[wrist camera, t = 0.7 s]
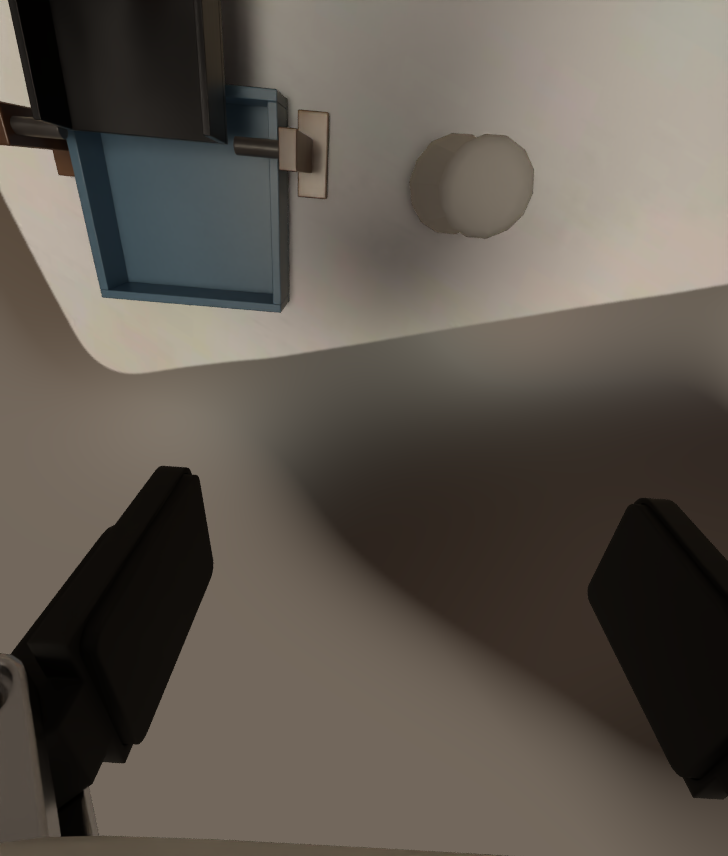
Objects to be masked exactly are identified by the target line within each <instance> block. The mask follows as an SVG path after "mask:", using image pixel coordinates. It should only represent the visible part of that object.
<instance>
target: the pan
mask: <svg viewBox="0 0 728 856" xmlns="http://www.w3.org/2000/svg"><path fill="white" fill-rule="evenodd" d="M8 2H9V7H10V12H11V16H12V21H13V26H14V30H15V35H16V40H17V44H18V49H19V54H20V58H21V63H22V68H23V72H24V77H25V82H26V86H27V91H28V96H29V100H30V105H31V110H32V114H33V119H34V120H37V121H40V122H44V123H47V124H50V125H54V126H57V127H61V128H64V129H68V130H72V131H83V132H94V133H105V134H115V135H126V136H137V137H148V138H159V139H170V140H181V141H192V142H202V143H213V144H224V145H228V137H227V117H226V97H225V77H224V57H223V38H222V18H221V0H8Z"/></svg>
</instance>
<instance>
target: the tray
mask: <svg viewBox="0 0 728 856" xmlns="http://www.w3.org/2000/svg"><path fill="white" fill-rule="evenodd" d="M225 97H226V117H227V137H228V145H224V144H213V143H202V142H192V141H181V140H170V139H159V138H148V137H137V136H126V135H115V134H105V133H94V132H83V131H72V130H68V129H67V130H68V137H67V139H66V140H67V144H68V148H69V153H70V157H71V162H72V166H73V171H74V175H75V179H76V184H77V188H78V193H79V197H80V201H81V206H82V210H83V215H84V219H85V224H86V228H87V232H88V237H89V241H90V246H91V250H92V255H93V259H94V263H95V268H96V272H97V277H98V281H99V285H100V289H101V294H102V297H103V298H115V299H127V300H138V301H150V302H162V303H174V304H185V305H197V306H209V307H221V308H232V309H244V310H256V311H268V312H279V313H281V312H282V310H283V309H284V307H285V306H286V305H287V303H288V302H289V225H288V171H282V170H279V159H273V158H262V157H251V156H240V155H236V154H235V151H234V146H233V141H234V137H235V136H240V137H251V138H262V139H273V140H278V127H287V128H288V119H287V98H285V97H284V96H283V95H282V94H281V93H280V92H279V91H278V90H276V89H269V88H259V87H248V86H238V85H227V84H225Z"/></svg>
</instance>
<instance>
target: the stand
mask: <svg viewBox="0 0 728 856" xmlns="http://www.w3.org/2000/svg"><path fill="white" fill-rule="evenodd" d="M67 137H68V130H67V129H64V128H61V127H57V126H54V125H50V124H47V123H44V122H40V121H37V120H34V119H33V114H32V110H31V108H30V107H25V106H20V105H15V104H11V103H6V102H1V101H0V145H7V146H18V147H29V148H40V149H50V150H53V154H54V158H55V162H56V166H57V170H58V174H59V175H63V176H74V177H75V175H74V171H73V166H72V162H71V157H70V153H69V148H68V144H67V140H66V139H67ZM233 146H234V151H235V154H236V155H240V156H251V157H262V158H273V159H279V170H282V171H292V172H298V196H299V197H308V198H319V199H326V198H327V178H328V146H329V113H328V112H318V111H308V110H298V129H296V128H287V127H278V140H273V139H262V138H251V137H240V136H235V137H234V141H233Z"/></svg>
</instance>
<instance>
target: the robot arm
mask: <svg viewBox="0 0 728 856" xmlns="http://www.w3.org/2000/svg"><path fill="white" fill-rule="evenodd" d="M212 572H213V557H212V551H211V545H210V539H209V533H208V527H207V522H206V515H205V509H204V503H203V497H202V492H201V485H200V480H199V477H198V476H197V475H192V473H191V471H190V469H189V468H186V467H171V466H160V467H158V468H157V469H156V470H155V472H154V473H153V474H152V476H151V477H150V479H149V480H148V481H147V483H146V484H145V485H144V487H143V488H142V489H141V491H140V492H139V493H138V495H137V496H136V497H135V499H134V500H133V501H132V503H131V504H130V505H129V507H128V508H127V509H126V511H125V512H124V513H123V515H122V516H121V517H120V519H119V520H118V521H117V523H116V524H115V525H113V526H112V527H109V528H108V529H107V530H106V531H105V532H104V533H103V534H102V535H101V537H100V538H99V539H98V540H97V542H96V543H95V544H94V546H93V547H92V548H91V550H90V551H89V552H88V554H87V555H86V556H85V558H84V559H83V560H82V561H81V563H80V564H79V565H78V567H77V568H76V569H75V571H74V572H73V573H72V574H71V576H70V577H69V578H68V580H67V581H66V582H65V584H64V585H63V586H62V587H61V589H60V590H59V591H58V593H57V594H56V596H55V597H54V598H53V599H52V601H51V602H50V603H49V605H48V606H47V607H46V608H45V610H44V611H43V612H42V614H41V615H40V616H39V618H38V619H37V620H36V621H35V623H34V624H33V626H32V627H31V628H30V629H29V631H28V632H27V633H26V635H25V636H24V638H23V639H22V640H21V641H20V642H19V644H18V645H17V646H16V648H15V649H14V650H13V652H12V653H11V654H3V653H0V856H506V855H489V854H472V853H471V854H470V853H455V852H436V851H420V850H403V849H386V848H367V847H347V846H330V845H311V844H292V843H274V842H255V841H237V840H218V839H190V838H189V839H188V838H158V837H128V836H127V837H126V836H99V833H98V828H97V823H96V819H95V814H94V809H93V804H92V799H91V794H90V789H89V786H90V785H91V784H93V781H94V779H95V777H96V775H97V773H98V771H99V768H100V766H101V764H102V762H112V763H125V762H126V760H127V757H128V755H129V752H130V750H131V748H132V745H133V744H140V743H141V742H142V741H143V739H144V738H145V736H146V734H147V732H148V729H149V727H150V724H151V722H152V720H153V717H154V715H155V712H156V710H157V707H158V705H159V703H160V700H161V698H162V695H163V693H164V690H165V688H166V685H167V683H168V681H169V678H170V676H171V673H172V671H173V669H174V666H175V664H176V661H177V659H178V656H179V654H180V652H181V649H182V646H183V644H184V642H185V639H186V637H187V635H188V632H189V630H190V627H191V625H192V622H193V620H194V617H195V615H196V613H197V610H198V608H199V605H200V603H201V601H202V598H203V596H204V593H205V591H206V589H207V586H208V584H209V581H210V579H211V576H212ZM588 599H589V602H590V604H591V606H592V608H593V610H594V612H595V614H596V616H597V618H598V620H599V622H600V624H601V626H602V628H603V630H604V632H605V634H606V636H607V638H608V640H609V642H610V645H611V647H612V649H613V651H614V653H615V655H616V657H617V659H618V661H619V663H620V664H621V667H622V668H623V671H624V673H625V674H626V677H627V679H628V681H629V683H630V685H631V687H632V689H633V691H634V693H635V695H636V697H637V699H638V701H639V703H640V705H641V707H642V709H643V711H644V713H645V715H646V717H647V719H648V721H649V723H650V725H651V727H652V729H653V731H654V733H655V735H656V737H657V739H658V741H659V743H660V745H661V747H662V749H663V751H664V753H665V755H666V757H667V759H668V761H669V763H670V765H671V767H672V768H673V770H674V771H675V772H676V773H677V774H678V775H679V776H681V777H683V779H684V781H685V783H686V785H687V786H688V788H689V790H690V792H691V794H692V796H693V798H707V799H724V798H726V797H727V796H728V561H727V560H726V559H725V557H724V556H723V555H722V554H721V553H720V552H719V551H718V550H717V549H716V548H715V546H714V545H713V544H712V543H711V542H710V541H709V540H708V539H707V538H706V536H704V534H703V533H702V532H701V531H700V530H699V529H698V528H697V527H696V525H695V524H694V523H693V522H692V521H691V520H690V519H689V518H688V517H687V515H686V514H685V513H684V512H683V511H682V510H681V509H680V508H679V507H678V506H677V504H675V503H674V502H673V501H671V500H666V499H651V498H640V499H638V500H637V501H636V502H635V503H634V504H631V505H629V506H628V507H627V509H626V511H625V513H624V515H623V517H622V519H621V521H620V523H619V525H618V527H617V529H616V531H615V533H614V535H613V537H612V539H611V541H610V543H609V545H608V547H607V549H606V551H605V553H604V556H603V558H602V559H601V561H600V563H599V566H598V568H597V569H596V572H595V574H594V575H593V577H592V580H591V582H590V584H589V586H588Z"/></svg>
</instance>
